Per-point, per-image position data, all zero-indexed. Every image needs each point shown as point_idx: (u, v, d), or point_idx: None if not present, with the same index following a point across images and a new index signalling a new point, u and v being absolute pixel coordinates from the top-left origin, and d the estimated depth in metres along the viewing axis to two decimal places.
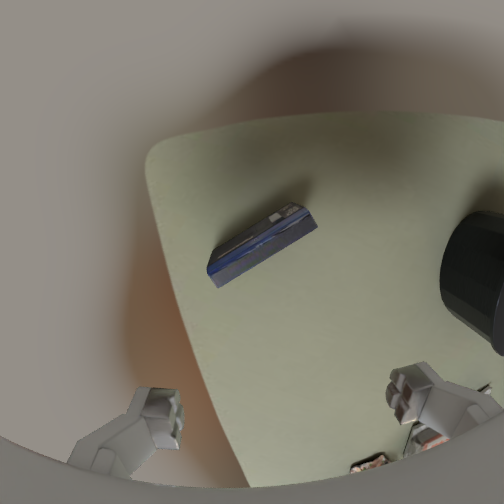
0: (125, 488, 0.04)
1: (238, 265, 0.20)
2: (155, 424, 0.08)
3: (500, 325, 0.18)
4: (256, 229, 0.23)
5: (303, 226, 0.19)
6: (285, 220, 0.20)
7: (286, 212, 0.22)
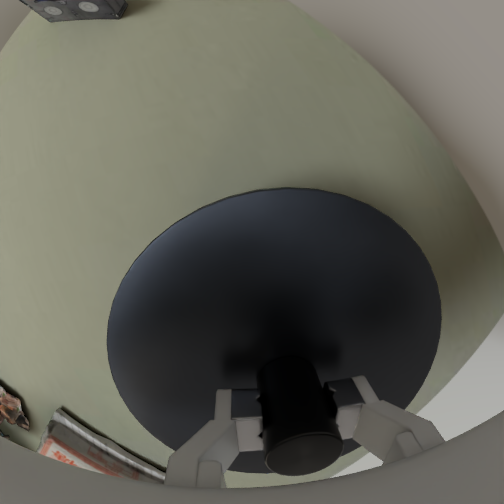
0: (125, 488, 0.04)
1: None
2: (245, 426, 0.08)
3: (136, 325, 0.10)
4: None
5: None
6: None
7: None
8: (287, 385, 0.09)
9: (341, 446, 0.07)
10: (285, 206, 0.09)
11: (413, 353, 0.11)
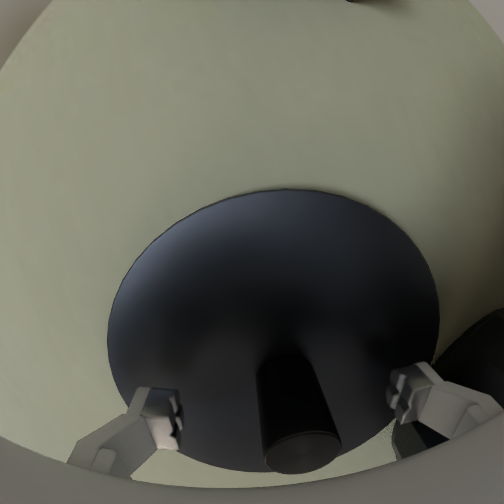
0: (125, 488, 0.04)
1: None
2: (155, 424, 0.08)
3: (136, 324, 0.10)
4: None
5: None
6: None
7: None
8: (286, 384, 0.09)
9: (339, 444, 0.07)
10: (284, 207, 0.09)
11: (411, 353, 0.11)
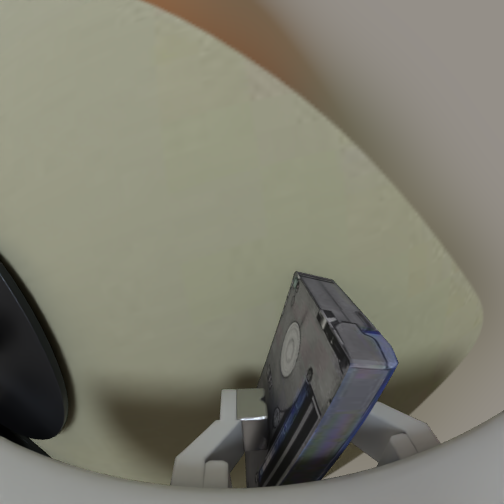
0: (125, 488, 0.04)
1: (336, 435, 0.06)
2: (251, 426, 0.08)
3: None
4: None
5: None
6: None
7: None
8: None
9: None
10: (43, 366, 0.10)
11: (13, 421, 0.11)
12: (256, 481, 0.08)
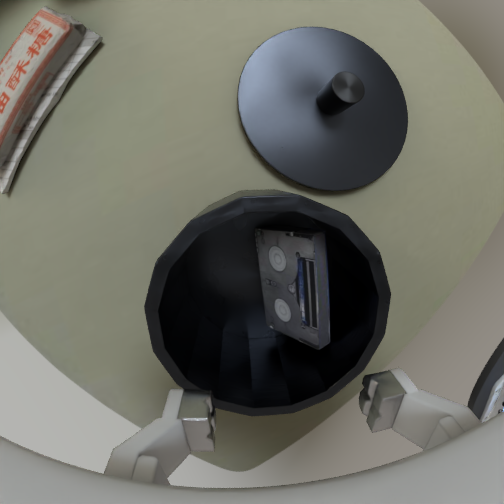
0: (125, 488, 0.04)
1: (322, 266, 0.18)
2: (192, 426, 0.08)
3: (354, 47, 0.19)
4: None
5: (324, 336, 0.19)
6: None
7: None
8: None
9: (354, 101, 0.16)
10: (402, 109, 0.20)
11: (338, 171, 0.21)
12: (304, 327, 0.20)
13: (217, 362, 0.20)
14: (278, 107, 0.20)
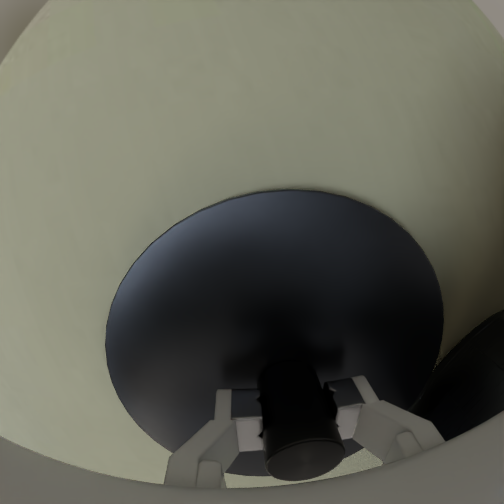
0: (125, 488, 0.04)
1: None
2: (246, 426, 0.08)
3: (135, 328, 0.10)
4: None
5: None
6: None
7: None
8: (288, 390, 0.09)
9: (343, 451, 0.07)
10: (287, 208, 0.09)
11: (415, 356, 0.11)
12: None
13: None
14: None
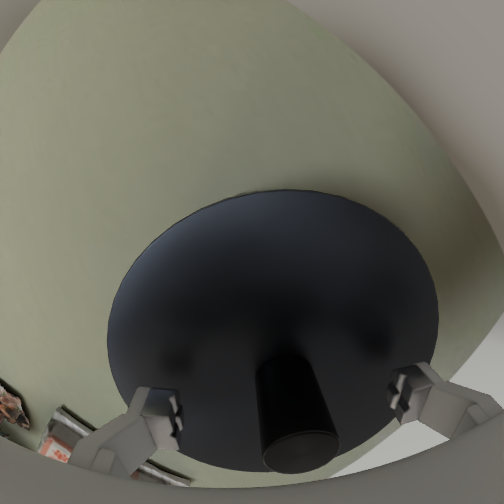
0: (125, 488, 0.04)
1: None
2: (155, 424, 0.08)
3: (136, 324, 0.10)
4: None
5: None
6: None
7: None
8: (285, 384, 0.09)
9: (338, 444, 0.07)
10: (283, 208, 0.09)
11: (410, 353, 0.11)
12: None
13: None
14: None
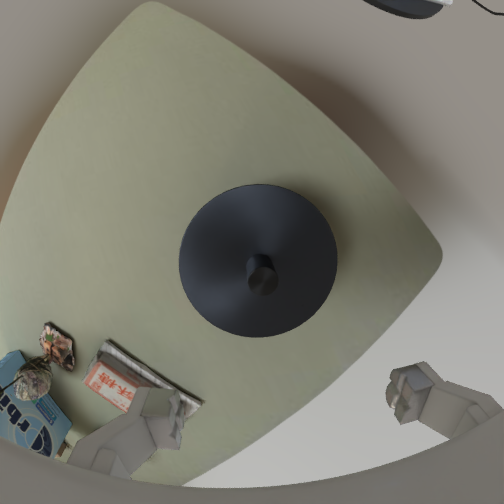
0: (125, 488, 0.04)
1: None
2: (155, 424, 0.08)
3: (195, 239, 0.25)
4: None
5: None
6: None
7: None
8: (257, 259, 0.24)
9: (277, 277, 0.22)
10: (256, 191, 0.24)
11: (322, 260, 0.26)
12: None
13: None
14: (268, 309, 0.27)
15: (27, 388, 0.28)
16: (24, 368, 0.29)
